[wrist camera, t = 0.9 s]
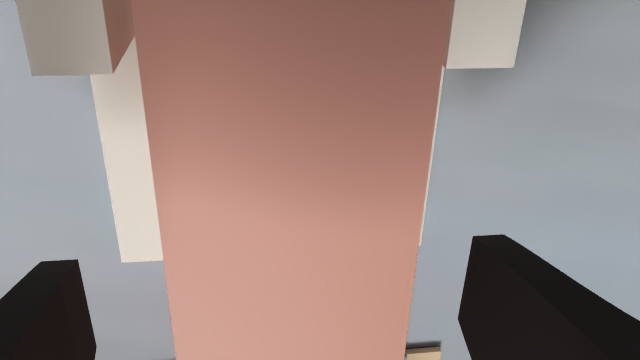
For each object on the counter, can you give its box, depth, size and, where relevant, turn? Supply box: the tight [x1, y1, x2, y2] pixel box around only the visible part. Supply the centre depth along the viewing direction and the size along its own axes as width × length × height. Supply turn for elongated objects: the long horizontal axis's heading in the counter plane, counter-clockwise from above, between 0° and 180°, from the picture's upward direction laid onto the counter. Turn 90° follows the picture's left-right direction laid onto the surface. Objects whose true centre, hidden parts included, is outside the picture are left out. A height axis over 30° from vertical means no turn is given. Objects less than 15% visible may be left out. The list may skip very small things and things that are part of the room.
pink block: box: [130, 0, 451, 360], centre depth 12 cm, size 4×11×5 cm, turn 178°
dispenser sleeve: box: [15, 0, 527, 360], centre depth 12 cm, size 8×19×4 cm, turn 178°
